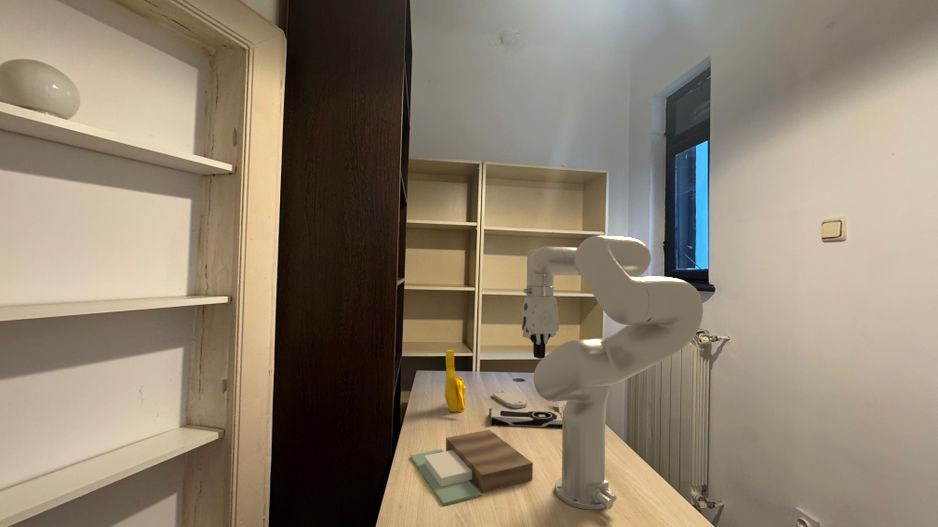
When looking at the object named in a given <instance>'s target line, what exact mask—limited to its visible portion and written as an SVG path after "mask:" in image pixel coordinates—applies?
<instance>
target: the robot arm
mask: <svg viewBox="0 0 938 527" xmlns="http://www.w3.org/2000/svg"><path fill="white" fill-rule="evenodd" d="M651 256H652V255H651V252H650V249H649V248H648V246H647V245H646V244H645V243H643V242H642V241H641V240H639V239H636V238H632V237H626V236H625V237H624V236H607V235H594V236H590V237H588V238H585V239H584V240H583V241H582V242H581V243H580V244H579V246H577V247H571V246H570V247H569V246H541V247H539V248H534V249H530V250H528V251H527V254H526V286H525V287H526V288H523V293H524V294H525V295H526V297H524V299H523V300H524V301H523V303H522V304H523V306H522V311H521V330H522V337H523V338H527V339H529V340H530V341H531V343H532V344H533V345H532V346H533V357H534V358H536V359H539V360H540V361H539V362H538V364H537V365H536V367H535V369H534V372H533V384H534V385H533V386H534V387H535V390H536V392H537V393H538V396H540V397H541V398H542V399H543V400H546V401H548V402H552V403H553V402H554V403H555V402H558V401H566V400H568V401H567V403H566V405H565V408H564V411H563V423H562V428H561V429H562V430H561V431H562V432H561V433H562V434H561V435H562V438H561V477H559V478H558V479H557V480H556V481H555V483H554V484H555V485H554V492H555V494H556V496H557V497H558V498H559V499H560V500H561V501H563V502H565V503H566V504H567V505H570V506H571V507H572V506H573V507H576V508H578V509H583V510H591V511H593V510H594V511H595V510H600V509H604V508H606V509H608V510H610V509H612V507H613V505H614V502H616V500H617V496H616V495H615V494H614V493H612V490H611V488H610V487H609V481H608V480H607V479H606V417H607V416H606V414H607V413H606V412H607V401H608V397H609V392H610V387H611V386H612V385H616V384H619V383H622V382H624V381H625V380H628V379H630V378H632V377H633V376H635V375H637V374H639V373H641V372H644V371H646V370H647V369H650V367H653V366H655V365H657V364H659V363H661V362H664V361H665V360H668V359H669V358H671V357H673V356H675V355H676V354H678V353H679V352H681V351H682V350H683V349H684V348H685V347H687V346H688V345H689V344H690V343H691V342H692V340H693V339H694V338H695V336H696V335H697V333H698V331H699V329H700V327H701V324H702V320H703V316H704V315H703V314H704V306H703V299H702V296H701V294H700V292H699V291H698V290H697V288H696V287H695V286H693V285H692V284H691V283H689V282H687V281H685V280H683V279H679V278H673V277H668V276H641V275H644V273H645V272H646V271H647V270H648V269H649V267H650V265H651V261H652V257H651ZM554 276H581V278H582V279H583V281H584V282H585V284H586V286H587V287H588V289H589V291H590V292H591V293H592V295H593V297H594V298H595V299H596V301H597V303H598V304H599V306H600V307H601V309H602V311H604V313H605V314H606V315H607V317H608V318H609V319H611V320H612V321H613V322H615V323H618V324H621V325H624V326H625V325H626V326H625V327H623V328H621V329H619V331H617V332H615V333H613V334H612V335H610V336H607V337H603V338H601V337H600V338H584V339H573V340H569V341H567V342H564V343H562V344H560V345H559V346H558V347H556V348H555V349H553V350H552V351H551V352H550V353H548V354H547V355H546V345H547V344H548V342H549V339H550V338H552V337H555V336H556V335H557V333H558V332H559V330H560V320H559V318H560V317H559V306H558V302H557V297H554V292H555V291H554V284H555V283H554V282H555V281H554V280H555V278H554Z"/></svg>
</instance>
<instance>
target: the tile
mask: <svg viewBox="0 0 938 527" xmlns="http://www.w3.org/2000/svg"><path fill="white" fill-rule="evenodd" d="M424 464H425V465H426V466H427V468H428V469H429V471H430V472H431V473H432V475H433V476H434V478H435V479H436V480H437V482H438V483H439V484H440V486H441V487H442V486H447V485H451V484H455V483H459V482H463V481H467V480H469V481H471V479H472V470H471V469H470V468H469V467H468V466H467V465H466V464H465V463H464V462H463V461H462V460H461V459H460V457H459V456H458V455H457V454H456V453H455V452H454V451H453V450H451V451H446V450H445V451H443V452H441V453H436V454H431V455H426V456H424Z"/></svg>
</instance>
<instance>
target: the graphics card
mask: <svg viewBox="0 0 938 527" xmlns="http://www.w3.org/2000/svg"><path fill="white" fill-rule="evenodd" d="M488 416H490V425H491V426H499V427H500V426H503V427H504V426H505V427H521V428H526V427H527V428H528V427H529V428H542V429H543V428H546V429H547V428H549V429H550V428H551V429H562V417H561V416H560V414H559V411H558V412H557V411H540V410H539V411H538V410H537V411H533V410H516V409H515V410H514V409H512V410H510V409H504V408H492V407H491V408H490V407H489V408H488Z"/></svg>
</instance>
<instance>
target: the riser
mask: <svg viewBox="0 0 938 527" xmlns="http://www.w3.org/2000/svg"><path fill="white" fill-rule="evenodd" d="M445 438H446V439H445V452H446V451H451V450H453V451H454V452H455V453H456V454H457V455H458V456H459V457H460V459H461V460H462V461H463V462H464V463H465V464H466V465H467V466H468V467H469V468H470V469H471V470H472V479H471V480H470V482H471V483H472V484H473V485H474V486H475V487H476V488H477V490H478V491H479V492H480V493H487V492H490V491H493V490H497V489H502V488H506V487H509V486H514V485H517V484H521V483H524V482H528V481H531V480H533V470H534V469H533V465H534V464H533V461H531V460H530V459H529V458H527V457H526V456H525V455H523V454H521V453H520V452H519V451H518V450H516V448H514V447H513V446H511V445H510V444H509V443H507V442H506V440H504V439H502V438H501V437H500V436H498V435H497V434H496V433H495V432H493V431H492V430H491V429H487V430H486V429H485V430H481V431H475V432H470V433H465V434H459V435H454V436H448V437H445Z"/></svg>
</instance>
